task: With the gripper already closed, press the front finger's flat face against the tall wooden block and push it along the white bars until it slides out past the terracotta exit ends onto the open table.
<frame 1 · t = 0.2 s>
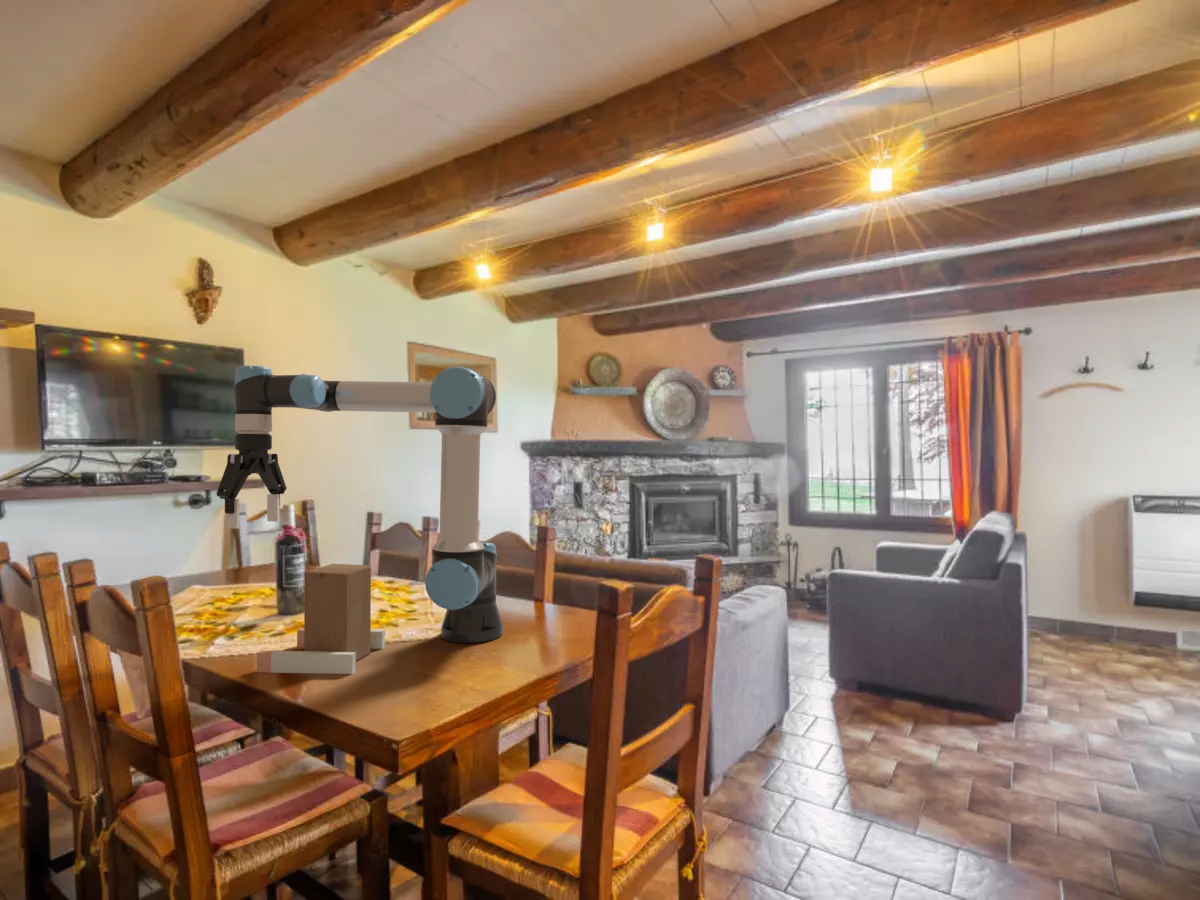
hand: (253, 524, 149), 28 cm above the table, fingers open, 13 cm apart
white bars: (324, 658, 141), on the table
wooden block: (338, 660, 141), on the table
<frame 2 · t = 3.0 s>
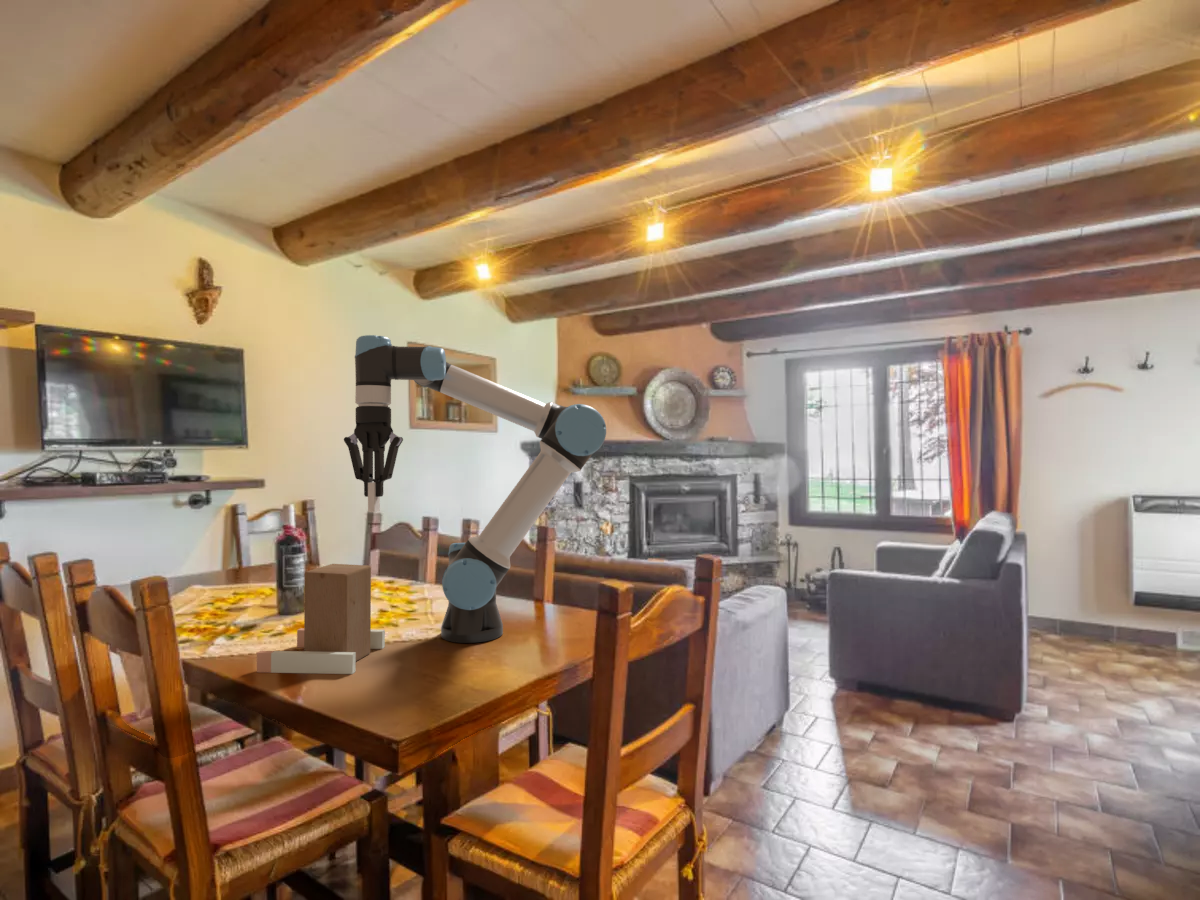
hand: (373, 511, 144), 32 cm above the table, fingers closed
nothing on the table moved.
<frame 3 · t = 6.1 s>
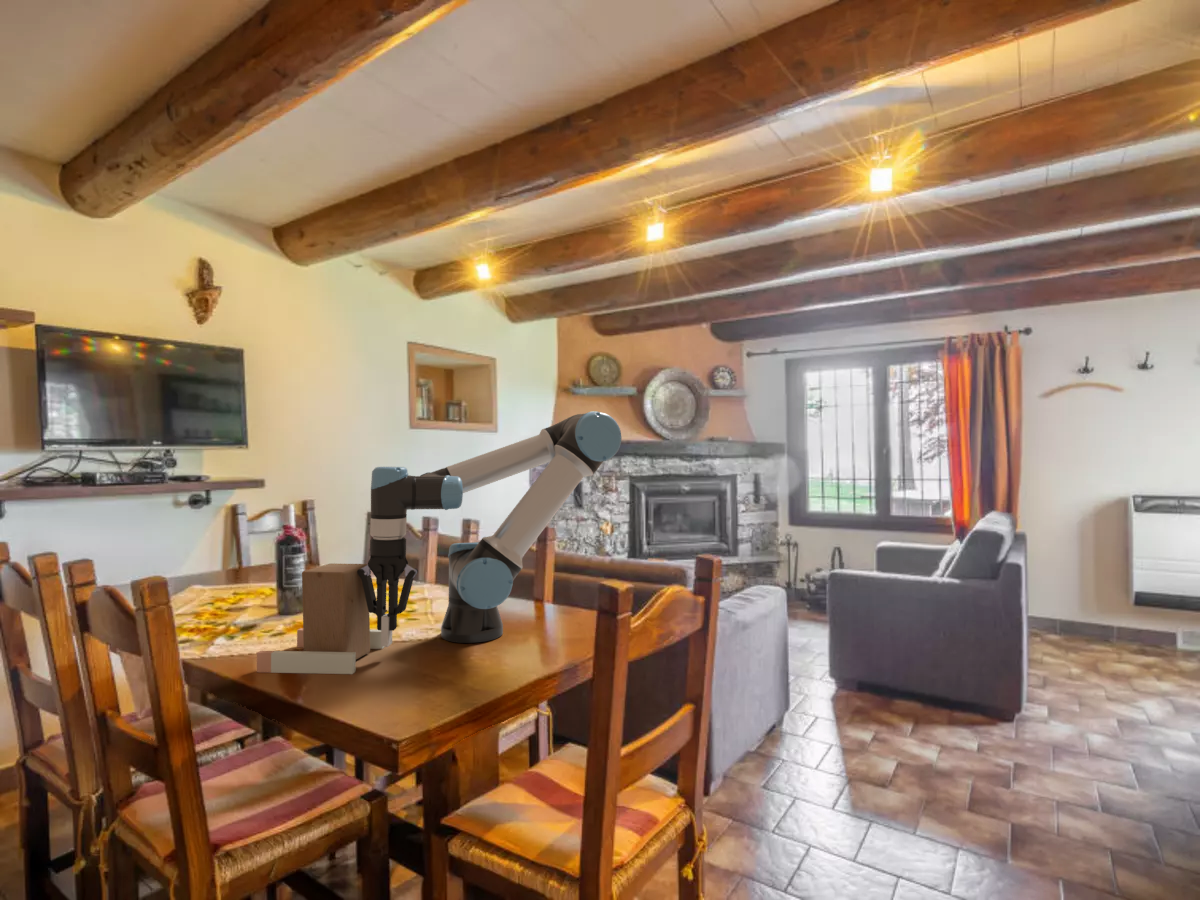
hand: (386, 644, 140), 3 cm above the table, fingers closed
nothing on the table moved.
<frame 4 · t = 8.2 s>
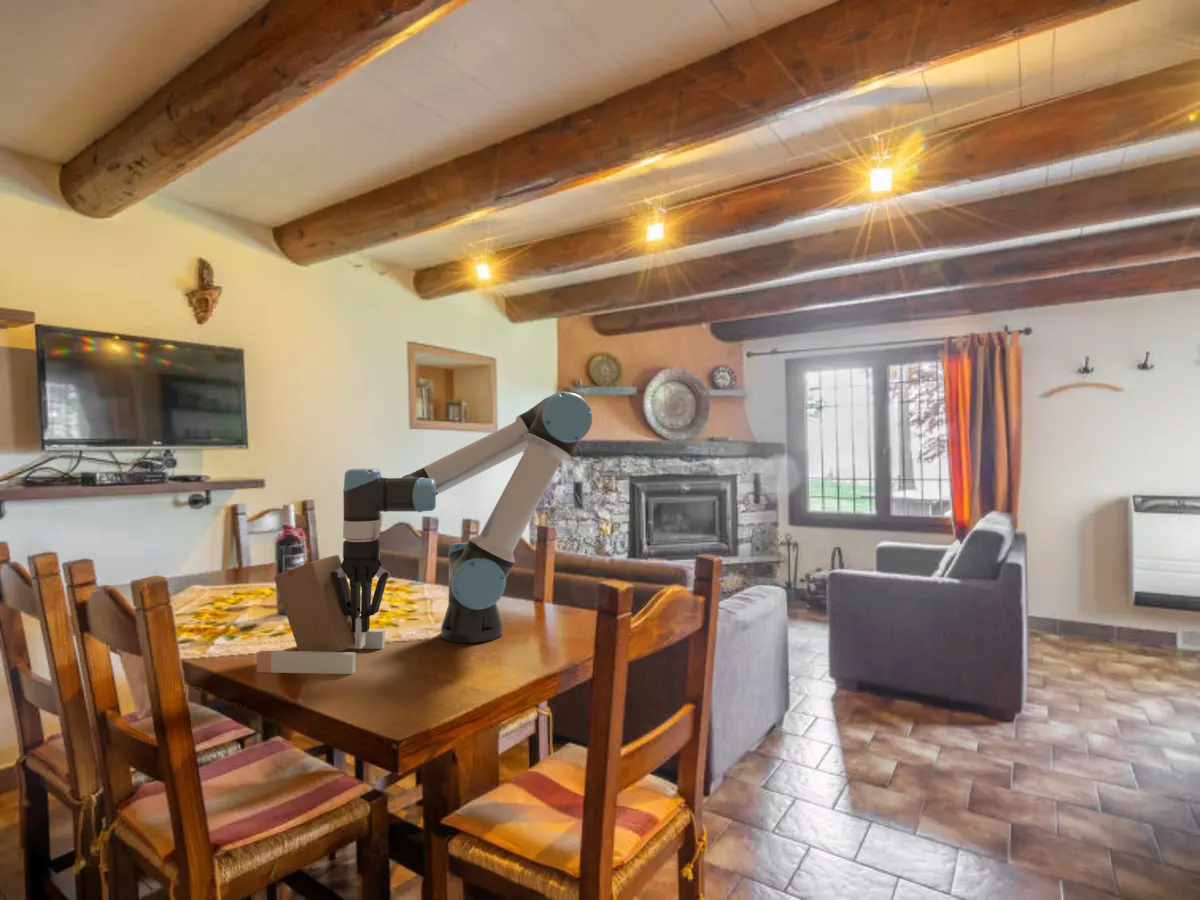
hand: (360, 646, 141), 3 cm above the table, fingers closed
wooden block: (336, 651, 141), point 2 cm above the table, touching gripper, hand
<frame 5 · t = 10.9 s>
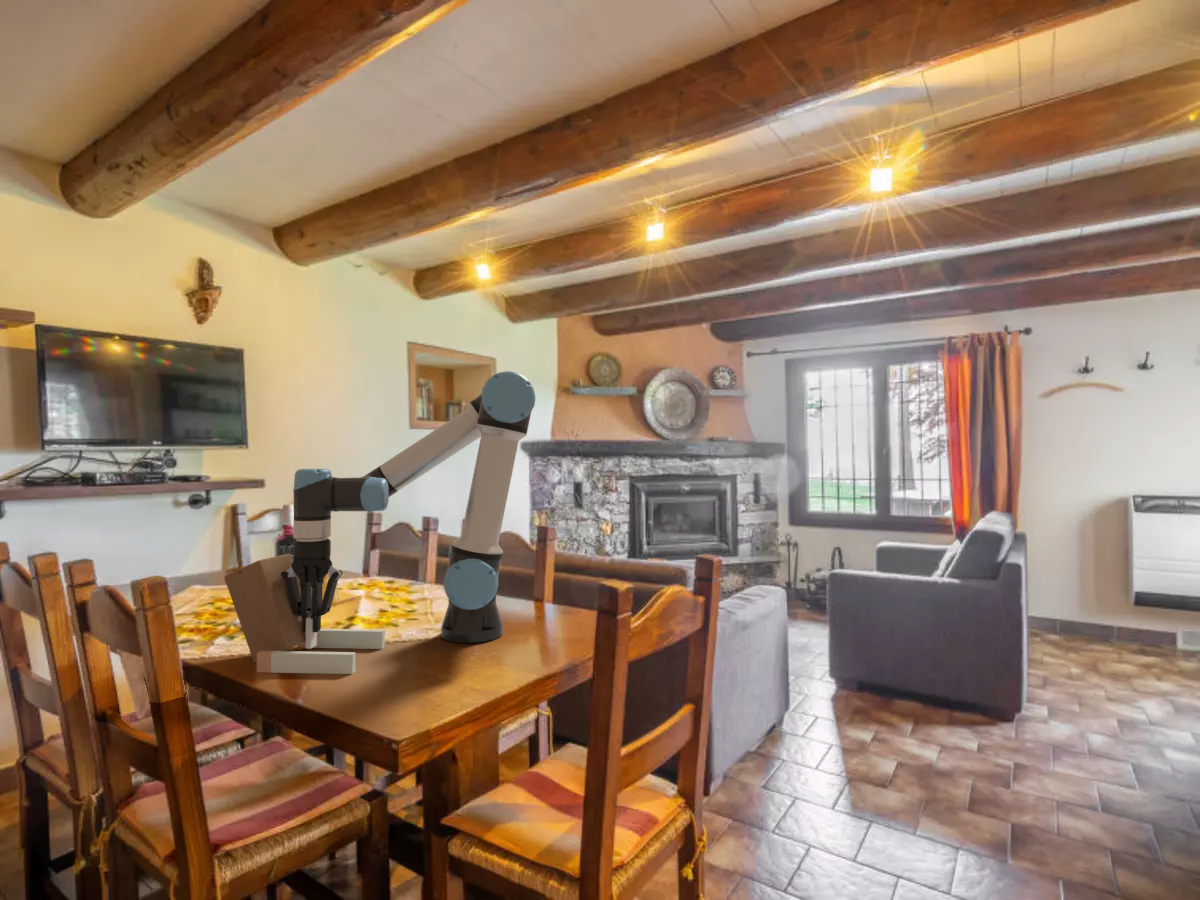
hand: (311, 646, 141), 3 cm above the table, fingers closed
wooden block: (288, 650, 141), point 2 cm above the table, touching gripper, hand
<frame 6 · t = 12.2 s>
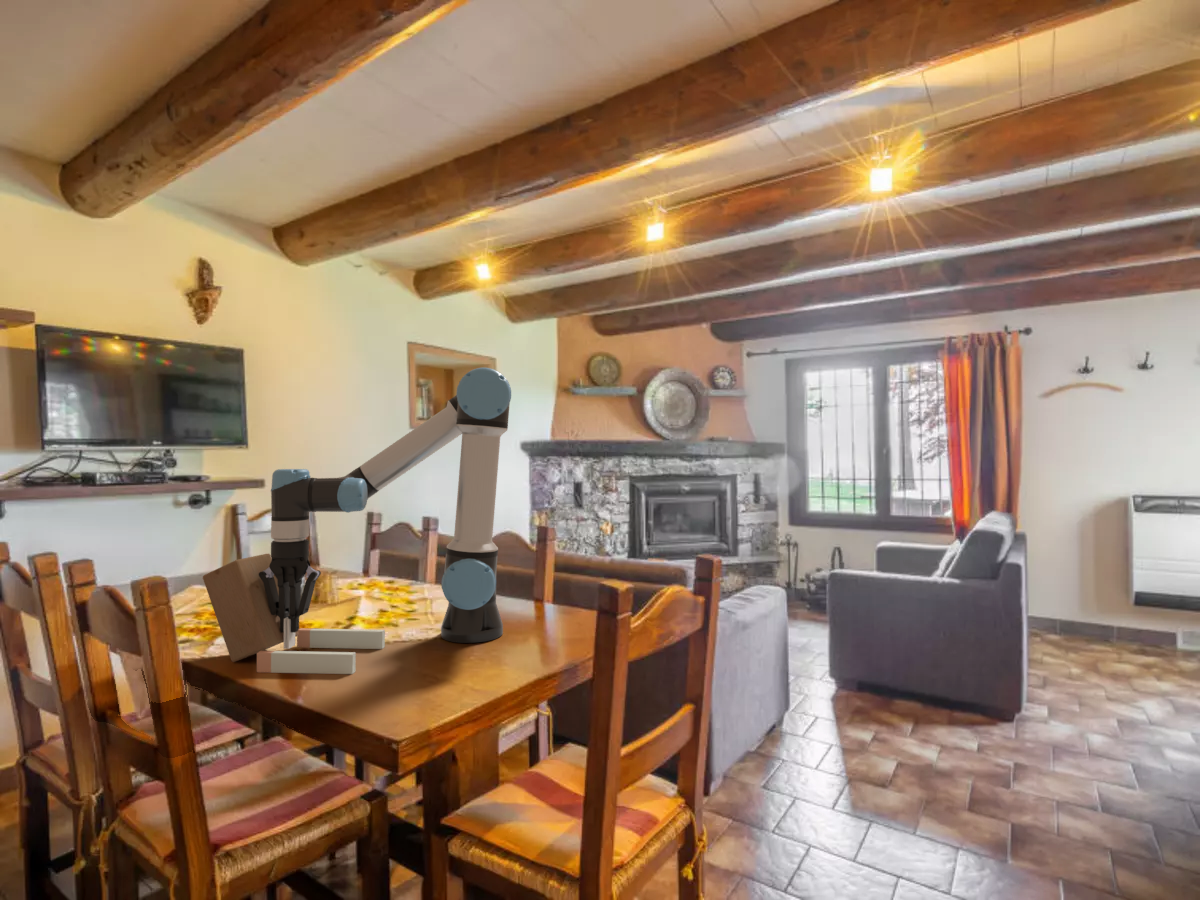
hand: (289, 646, 141), 3 cm above the table, fingers closed
wooden block: (266, 649, 141), point 2 cm above the table, touching gripper, hand
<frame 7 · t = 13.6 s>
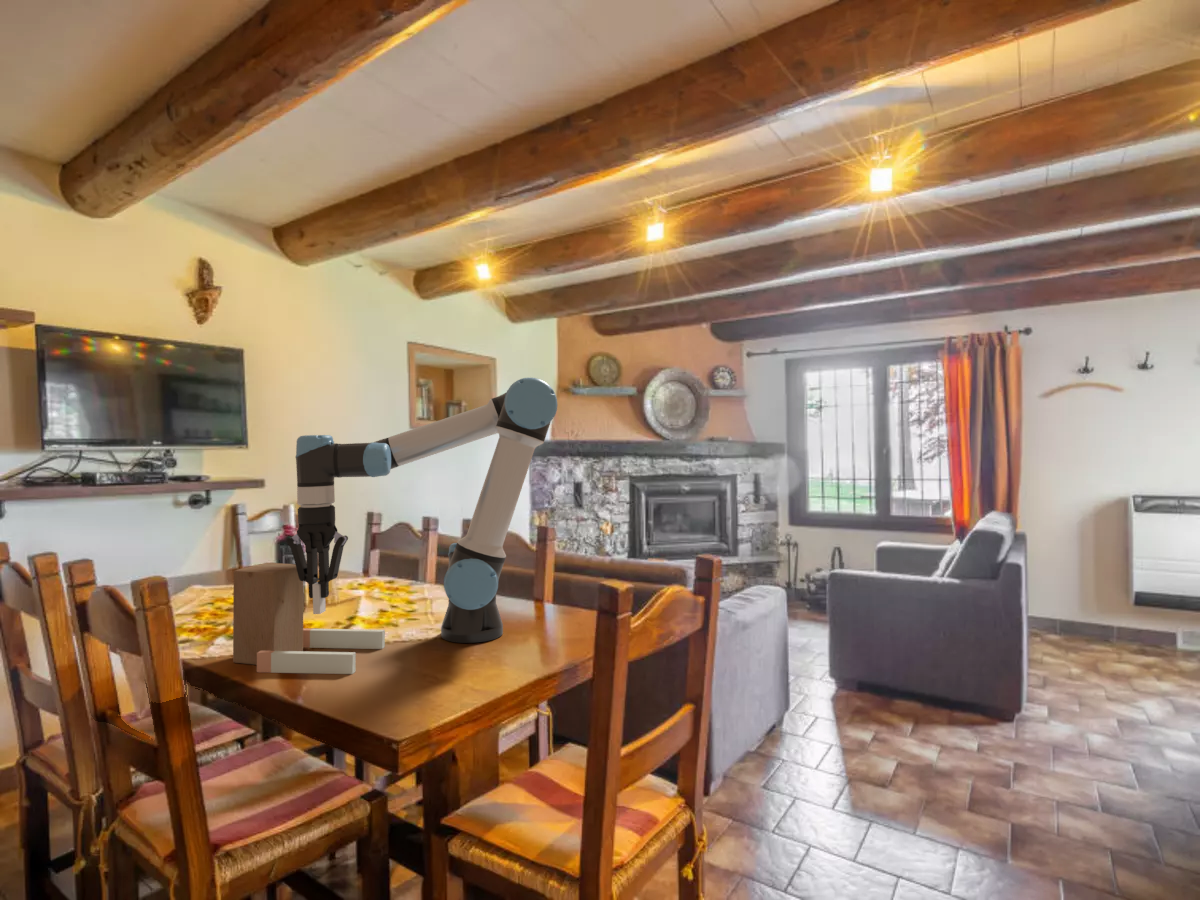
hand: (319, 612, 141), 10 cm above the table, fingers closed
wooden block: (268, 658, 142), on the table
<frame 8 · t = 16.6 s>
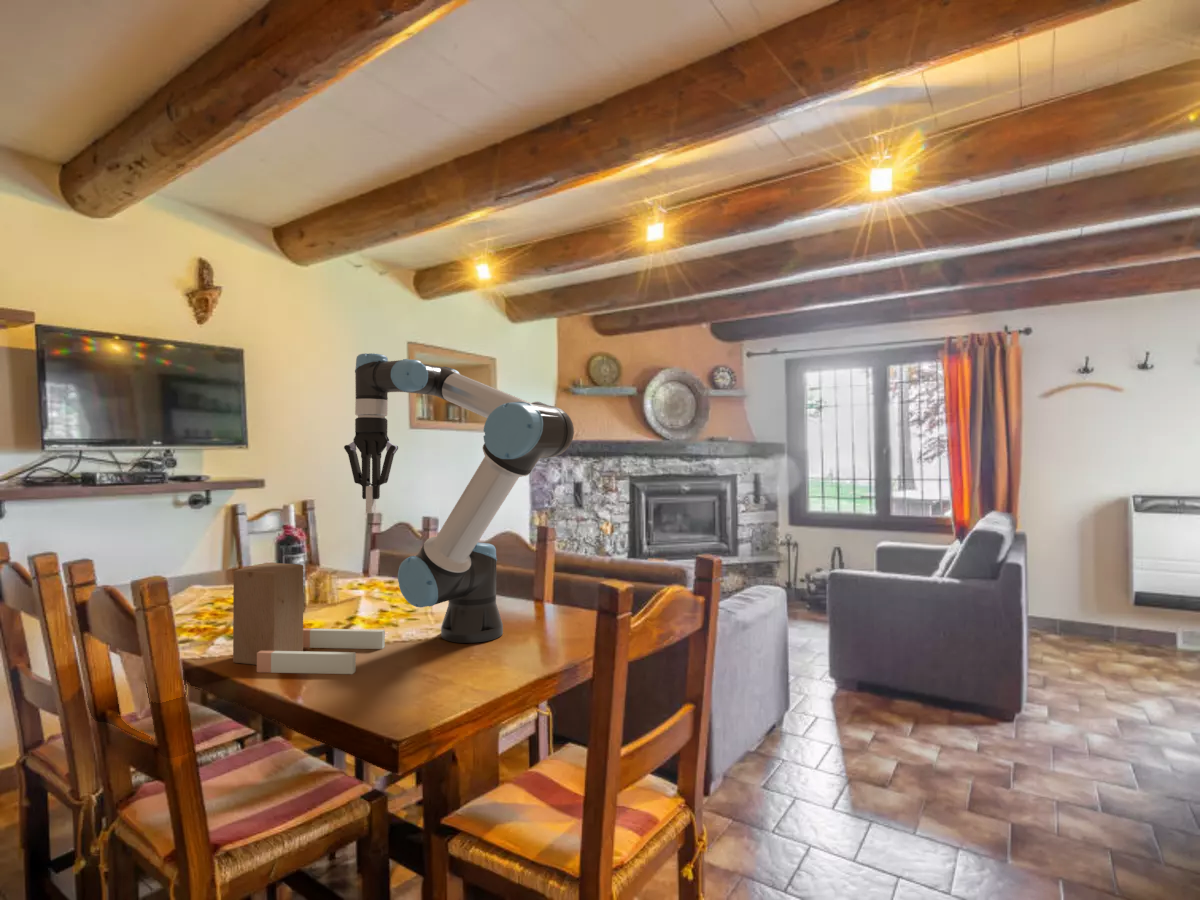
hand: (370, 512, 159), 30 cm above the table, fingers closed
nothing on the table moved.
at the end: wooden block inside the target area (5.5 cm from its centre), on the table; wooden block tilted 0°; the gripper is holding nothing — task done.
